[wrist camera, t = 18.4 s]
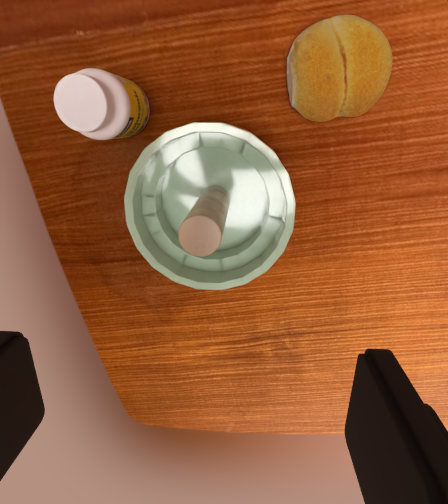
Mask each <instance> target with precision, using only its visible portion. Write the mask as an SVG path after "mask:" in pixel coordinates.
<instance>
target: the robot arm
mask: <svg viewBox="0 0 448 504" xmlns="http://www.w3.org/2000/svg"><path fill="white" fill-rule="evenodd" d="M44 411H45V408H44V404H43V399H42V395H41V391H40V387H39V384H38V379H37V375H36V371H35V367H34V362H33V358H32V354H31V350H30V346H29V342H28V339H26V338H25V337H24V336H23V334H22V333H20V332H12V331H0V481H1V479H2V478H3V476H4V475H5V473H6V472H7V470H8V469H9V468H10V466H11V465H12V463H13V462H14V460H15V459H16V458H17V456H18V455H19V453H20V452H21V450H22V449H23V447H24V446H25V445H26V443H27V441H28V440H29V439H30V437H31V436H32V434H33V433H34V432H35V430H36V429H37V427H38V426H39V424H40V423H41V421H42V419H43V417H44ZM345 438H346V443H347V446H348V449H349V452H350V456H351V459H352V462H353V466H354V469H355V472H356V475H357V479H358V482H359V485H360V488H361V492H362V495H363V498H364V502H365V504H448V431H447V430H446V428H445V426H444V425H443V423H442V422H441V420H440V419H439V417H438V416H437V414H436V412H435V411H434V410H433V409H432V407H431V406H429V405H428V404H424V403H423V401H422V400H421V398H420V397H419V395H418V393H417V392H416V390H415V388H414V387H413V385H412V384H411V382H410V380H409V379H408V377H407V376H406V374H405V372H404V371H403V369H402V367H401V366H400V364H399V363H398V361H397V359H396V358H395V356H394V355H393V353H392V352H391V351H390V350H386V349H366V351H365V354H359V356H358V359H357V364H356V370H355V375H354V381H353V386H352V392H351V397H350V402H349V408H348V413H347V419H346V424H345Z"/></svg>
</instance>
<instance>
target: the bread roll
mask: <svg viewBox="0 0 448 504" xmlns="http://www.w3.org/2000/svg"><path fill="white" fill-rule="evenodd" d="M391 69H392V51H391V47H390V44H389V42H388V40H387V38H386V37H385V35H384V34H383V32H382V31H381V30H380V29H379V28H378V27H377V26H375V25H374V24H373V23H372V22H370V21H367V20H365V19H363V18H360V17H358V16H355V15H339V16H334V17H331V18H329V19H325V20H322V21H319V22H317V23H315V24H313V25H311V26H310V27H308V28H307V29H305V30H304V31H303V32H301V33H300V35H298V37H297V38H296V39H295V40H294V42H293V44H292V47H291V49H290V51H289V54H288V57H287V84H288V92H289V101H290V104H291V106H292V107H293V108H295V109H296V110H297V111H298V112H299V113H300V114H301V115H302V116H303V117H304V118H306V119H308V120H311V121H316V122H325V121H329V120H331V119H334V118H335V117H338V116H345V117H357V116H360V115H362V114H364V113H366V112H367V111H368V110H369V109H371V108H372V107H373V106H374V104H375V103H376V102H377V101H378V100H379V98H380V97H381V96H382V94H383V93H384V91H385V88H386V86H387V83H388V81H389V78H390V74H391Z"/></svg>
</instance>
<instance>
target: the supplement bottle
mask: <svg viewBox="0 0 448 504" xmlns="http://www.w3.org/2000/svg"><path fill="white" fill-rule="evenodd" d="M54 105H55V109H56V112H57V114H58V116H59V117H60V119H61V120H62V121H63V123H64V124H66V125H67V126H68V127H69V128H71V129H73V130H75V131H78V132H80V133H81V134H83V135H84V136H86V137H89V138H92V139H96V140H109V139H118V138H126V137H131V136H134V135H136V134H138V133H139V132H141V131H142V130H143V129H144V127H145V126H146V124H147V122H148V119H149V113H150V108H149V102H148V99H147V97H146V95H145V93H144V92H143V90H142V89H141V88H140V87H139V86H138V85H137V84H135V83H134V82H133V81H131V80H128V79H126V78H123V77H121V76H118V75H115V74H112V73H110V72H107V71H104V70H101V69H95V68H87V69H83V70H80V71H78V72H76V73H74V74H69V75H67V76H65V77H63V78H62V79H61V80H60V81H59V82H58V84H57V86H56V88H55V92H54Z"/></svg>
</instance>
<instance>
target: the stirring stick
mask: <svg viewBox="0 0 448 504" xmlns="http://www.w3.org/2000/svg"><path fill="white" fill-rule="evenodd" d="M229 205H230V197H229V194H228V193H227V191H226V190H225V189H223V188H222V187H220V186H210V187H207V188H206V189H205V190H204V191H203V192H202V194H201V195H200V197H199V198H198V200H197V201H196V203H195V204H194V206H193V207H192V209H191V210H190V212H189V213H188V215H187V216H186V218H185V219H184V221H183V223H182V224H181V226H180V228H179V232H178V238H179V242H180V244H181V246H182V247H183V248H184V250H185V251H187V252H188V253H190V254H192V255H194V256H207V255H210V254H212V253H214V252H215V251H216V250H217V249H218V247H219V246H220V243H221V239H222V235H223V231H224V227H225V222H226V218H227V214H228V209H229Z"/></svg>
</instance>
